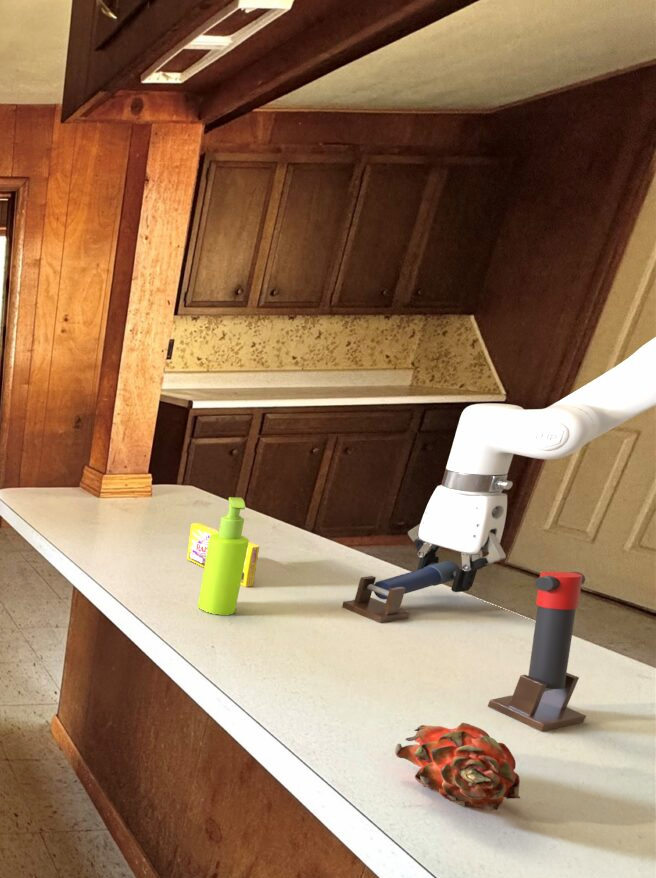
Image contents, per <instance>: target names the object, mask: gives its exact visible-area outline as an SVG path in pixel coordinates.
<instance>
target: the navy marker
mask: <svg viewBox="0 0 656 878" xmlns="http://www.w3.org/2000/svg"><path fill="white" fill-rule="evenodd" d="M458 569H461V567H460V565H458V563H456V562H455V561H452V560H444V561H441V562H438V563H434V562H431V563H429V564H428V565H427V567H424V568H423V569H419V570H417V569H416V570H412V571H409V572H406V573H403V574H399V575H395V576H392V577H389V578H385V579H382V580H378V581H375V583H374V585H372V584H369V585H368V587H367V589H368V590H371V591H372V592H373V593H374V595H375V596H376V597H377V598H378V599H380V600H387V597H388V594H389V590H390V588H396V587H404V588H406V589H405V593H404V595H405V594H409V593H412V592H416V591H419V590H422V589H427V588H430V587H434V586H439V585H443V584H446V583H449V582H454V578H455V575H456V572H457V570H458Z"/></svg>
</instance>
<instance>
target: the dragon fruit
mask: <svg viewBox="0 0 656 878" xmlns="http://www.w3.org/2000/svg"><path fill="white" fill-rule="evenodd" d="M410 730H411V729H408V731H410ZM413 731H414V732H416V733H415V735H414V736H411V737H406V738H405V741H407V742H413V741H414V742H416V743H418V744H408V745H404V746H402V744H401V743H397V744H396V746H395V749H394V754H395V756H396V757H397V758H399V759H405V760H407V761H409V763H412V764H414V765H416V766H417V767H420V768H419V770H418V771H417V773H415V775H414V779H415V780H416V781H417V782H418V783H419V784H420V785H421V786H422V787H424V788H428V789H430V790H431V789H434V790H438V792H439V794H440V796H441V797H443V798H444V799H446V800H449V802H451V803H454V804H457V805H460V806H462V807H468V806H471V805H473V806H474V807H476V808H477V809H479V810H481V811H498V810H499V808H500V806H501V805H502V803H503V802H504V798H506V800H510V799H511V800H512V799H521V796H520V792H519V791H520V781H521V780H520V775H519V774H518V773H517V772H515V769H516V759H515V757H514V755H513V753H512V751H511V750H510V748H508V747H507V745H506V744H505V743H503V742H498V741H497V740H496V739H495V738H493V737H491V735H489V734H488V733H487V731H486V730H484V729H482V728H480V727H477V726H475V725H472V724H470V723H466V722H461V723H460V724H459V725H458V726H457V727H455V728H448V727H445V726H442V725H441V726H440V725H439V726H438V725H437V726H436V725H426V724H421V725H419V726H418V727H417V728H414V729H413ZM404 733H405V732H404Z"/></svg>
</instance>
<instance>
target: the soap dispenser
mask: <svg viewBox="0 0 656 878" xmlns="http://www.w3.org/2000/svg"><path fill="white" fill-rule="evenodd" d="M228 502H229V505H228V510H227V514H225V515H223V516H221V518H220V523H219V529H218V530H219V533H216V534H212V535H210V538H209V543H208V549H207V555H206V561H205V567H204V568H203V573H202V580H201V585H200V590H199V597H198V602H197V607H199V608H200V609H199V608H198V609H199V610H201V609H202V610H204V611H206V612H205V613H207V612H209V613H208V614H210V613H212V614H211V615H215V614H219V615H218V616H229V614H230V615H233V614H235V613H236V608H237V603H238V598H239V592H240V588H241V585H240V583H241V578H242V573H243V568H244V563H245V558H246V553H247V548H248V543H249V542H250V539H249V538H248V537H246V536H243V535H242V533H243V527H244V523H245V518H243V517H242V516H241V515H240V513H241V510H245V509H246V502H245V500H244V499H243V498H242V497H233V496H232V497H231V496H229V497H228ZM202 610H201V611H202ZM204 611H203V612H204Z"/></svg>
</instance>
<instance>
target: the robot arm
mask: <svg viewBox="0 0 656 878" xmlns="http://www.w3.org/2000/svg"><path fill="white" fill-rule="evenodd" d="M654 407H656V336H655V337H653V338H652V339H650V340H648V342H646V343H644V344H643V345H642V346H640V347H639V348H638V349H637V350H636V351H635V352H634V353H633V354H631V355H630V356H629V357H628V358H626V359H625V360H623V361H622V362H620V363H619V364H617V365H616V366H614V367H613V368H611V369H609V370H608V371H606V372H605V373H602V375H600V376H598V377H596V378H595V379H593V380H591V381H590V382H588V383H586V384H585V385H584V386H581V387H580V388H578V389H577V390H575V391H574V392H571V393H570V394H568V395H566V396H565V397H563V398H561V399H560V400H558V401H556V402H554V403H552V404H551V405H549V406H547V407H545V408H537V409H524V408H523V407H522V406H519V405H516V404H511V403H510V404H508V403H488V402H487V403H475V404H470V405H469V406H466V407H465V408H464V409H463V411H462V412H461V415H460V417H459V421H458V424H457V428H456V431H455V434H454V435H455V436H454V439H453V442H452V446H451V449H450V453H449V456H448V459H447V464H446V466H445V471H444V474H443V477H442V481H441V484H440V485H437V486H436V488H435V490H433V493H432V495H431V496H430V499H429V500H428V503H427V505H426V508H425V510H424V513H423V515H422V518H421V520H420V523H419V524H417V525H416V526H414V527H413V528H411V529H410V530H409V531H407V536H408V537H409V538H410V539H411V541H412V542H413V546H414V547H415V548H416V550H417V557H418V558H420V559H419V562H418V566H417V569H416V570H419V569H423V568H424V567H427V565H428V564H429V563H431V562H434V563H439V560H440V559H439V556H437V555H438V553H439V552H440V550H441V549H442V548H445V549H448V550H451V551H455V552H459V553H460V555H461V556H460V557H461V568H460V569H458V570H457V572H456V575H455V578H454V580H453V581H452V582H453V583H452V585H451V589H450V590H451V592H453V593H461V592H468V591H469V590H470V589H471V588H472V587H473V585H474V583H475V582H474V581H475V578H476V575H477V572H478V570H482V569H483V568H485V567H487V566H489V565H492V564H493V563H497V562H499V561H502V560H505V559H506V558H507V555H506V552H505V551H504V548H503V547H502V546H501V540H502V537H503V532H504V529H505V524H506V520H507V519H506V518H507V511H508V510H507V509H508V494H507V493H505V492H504V493H503V491H504V490H507V491H508V490H511V488H512V487H513V485H514V484H513V481H511V480H507V479H508V473H509V470H510V467H511V464H512V461H513V457H514V455H518V456H522V457H527V458H532V459H539V460H557V459H562V458H565V457H568V456H570V455H572V454H575V453H576V452H578V451H579V450H581V448H583V447H584V446H585V445H587V444H588V443H590V442H591V441H593V440H595V439H596V438H598V437H600V436H602V435H604V434H605V433H607V432H609V431H611V430H613V429H614V428H617V427H618V426H620V425H622V424H624V423H625V422H628V421H629V420H631V419H634V418H635V417H638V415H640V414H643V413H645V412H647V411H648V410H650V409H652V408H654ZM483 552H487V553H488V554H487V555H485V556H483Z"/></svg>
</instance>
